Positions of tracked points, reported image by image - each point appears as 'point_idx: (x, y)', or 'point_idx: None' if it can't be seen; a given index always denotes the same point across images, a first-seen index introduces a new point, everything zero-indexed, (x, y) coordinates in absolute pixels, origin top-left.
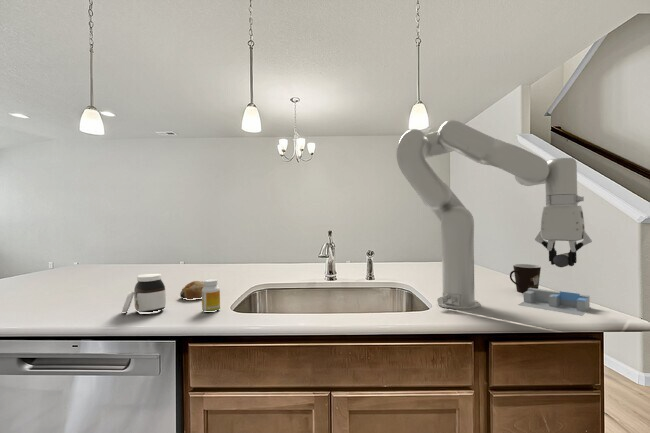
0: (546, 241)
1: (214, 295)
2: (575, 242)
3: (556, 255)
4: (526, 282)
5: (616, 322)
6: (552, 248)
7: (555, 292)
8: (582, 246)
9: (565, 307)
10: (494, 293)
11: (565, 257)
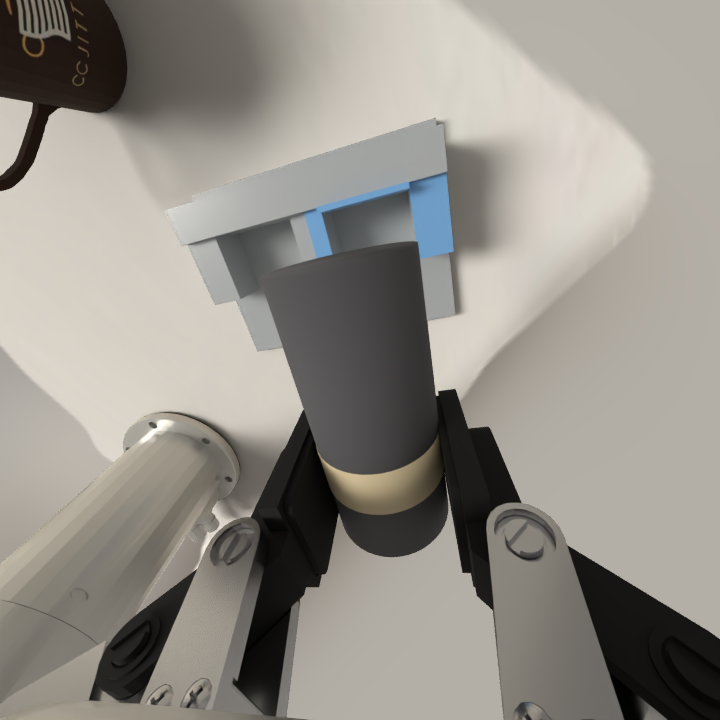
0: (140, 691)
1: None
2: (598, 717)
3: (359, 546)
4: (44, 85)
5: (557, 271)
6: (293, 603)
7: (297, 212)
8: (682, 620)
9: (367, 240)
10: (54, 220)
11: (433, 533)
